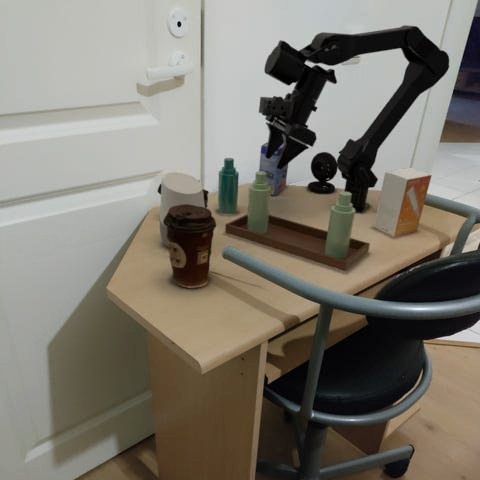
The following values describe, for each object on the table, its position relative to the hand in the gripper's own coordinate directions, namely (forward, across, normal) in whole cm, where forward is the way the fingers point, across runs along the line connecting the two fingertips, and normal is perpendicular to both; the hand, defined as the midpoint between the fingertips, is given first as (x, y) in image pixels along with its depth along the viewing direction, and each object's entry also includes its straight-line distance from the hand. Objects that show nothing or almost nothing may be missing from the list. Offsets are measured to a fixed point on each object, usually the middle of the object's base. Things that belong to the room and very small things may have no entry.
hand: (272, 163), depth 111 cm
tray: (+11, +19, +5) cm, 22 cm away
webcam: (+3, -15, +22) cm, 27 cm away
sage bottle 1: (+13, +12, -1) cm, 17 cm away
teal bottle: (+15, -1, -4) cm, 15 cm away
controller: (+19, +4, -15) cm, 25 cm away
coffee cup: (+21, +31, -17) cm, 41 cm away
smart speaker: (+20, +16, -16) cm, 31 cm away
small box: (+1, +15, +29) cm, 32 cm away
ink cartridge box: (+8, -16, +10) cm, 21 cm away
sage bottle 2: (+8, +26, +11) cm, 29 cm away
